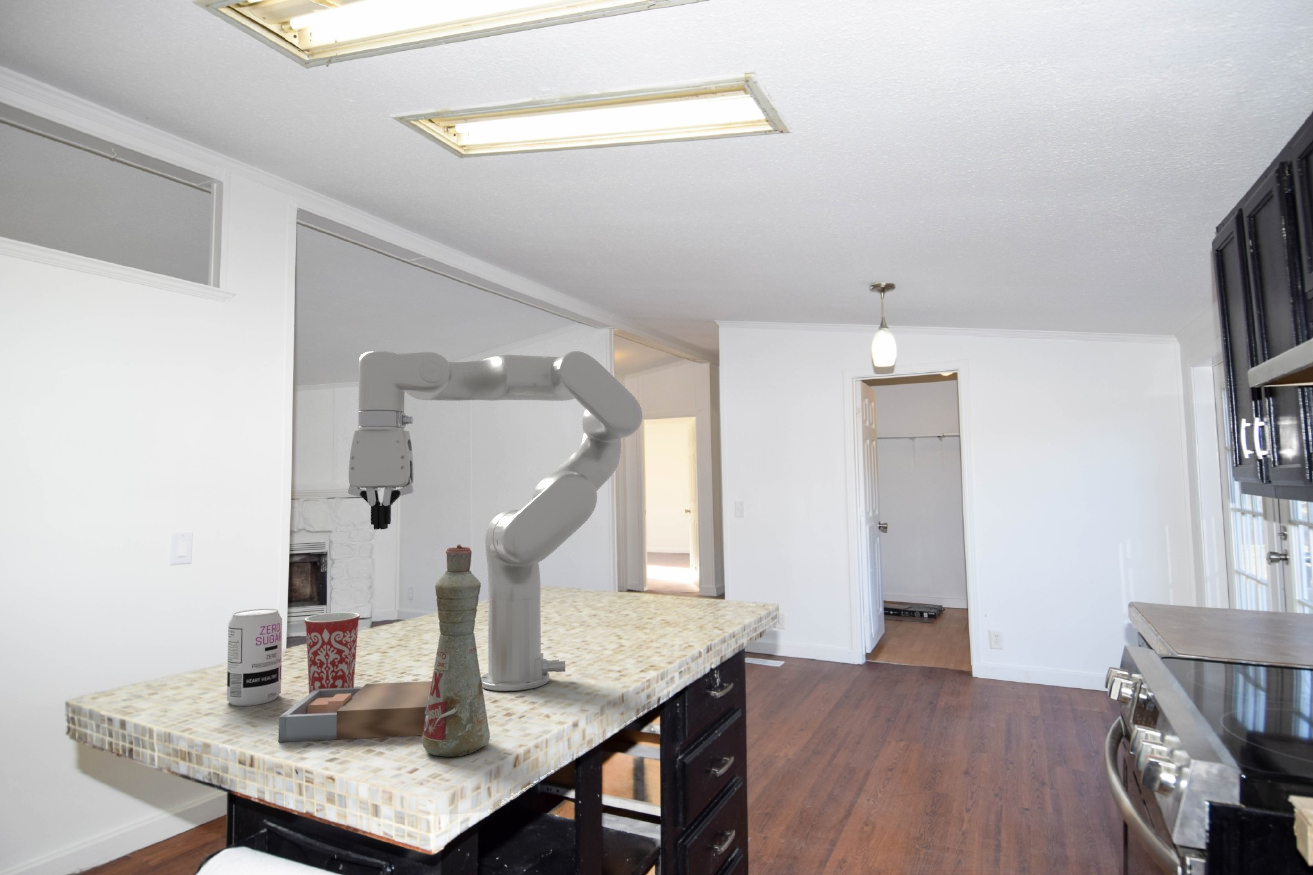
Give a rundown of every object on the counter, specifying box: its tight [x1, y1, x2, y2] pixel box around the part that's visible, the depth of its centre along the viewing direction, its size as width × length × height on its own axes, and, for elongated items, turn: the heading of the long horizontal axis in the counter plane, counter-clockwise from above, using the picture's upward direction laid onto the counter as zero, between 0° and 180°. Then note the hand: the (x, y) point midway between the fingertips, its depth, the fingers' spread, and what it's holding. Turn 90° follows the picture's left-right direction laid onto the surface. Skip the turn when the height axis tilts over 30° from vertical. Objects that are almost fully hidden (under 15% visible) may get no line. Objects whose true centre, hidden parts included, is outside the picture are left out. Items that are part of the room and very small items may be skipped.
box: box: [277, 686, 363, 743], centre depth 115 cm, size 8×15×4 cm, turn 6°
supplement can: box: [226, 608, 283, 707], centre depth 130 cm, size 8×8×15 cm
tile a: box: [328, 693, 351, 713], centre depth 113 cm, size 4×4×2 cm
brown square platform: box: [335, 680, 432, 740], centre depth 116 cm, size 13×15×4 cm
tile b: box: [307, 697, 333, 714], centre depth 118 cm, size 4×4×2 cm
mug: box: [304, 611, 361, 695], centre depth 135 cm, size 13×9×14 cm
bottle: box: [421, 543, 491, 758], centre depth 104 cm, size 9×9×28 cm
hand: (380, 528), depth 129 cm, fingers closed
